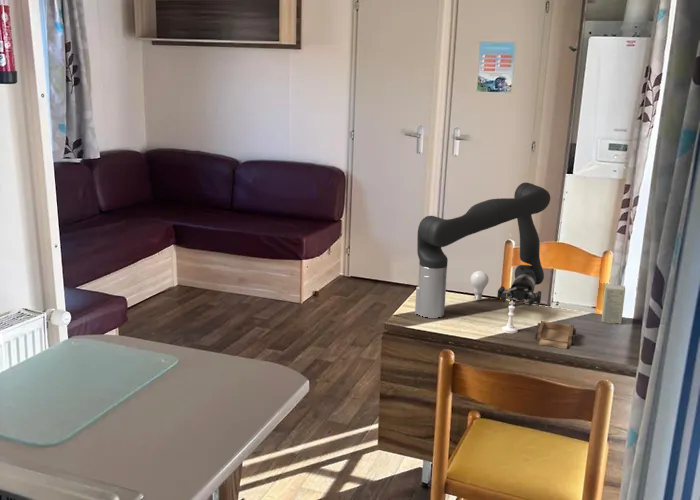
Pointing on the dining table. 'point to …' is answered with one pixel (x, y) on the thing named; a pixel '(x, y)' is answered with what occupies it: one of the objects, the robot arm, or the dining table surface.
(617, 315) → the skincare box
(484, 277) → the lightbulb
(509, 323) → the chess piece
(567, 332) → the truck bed
